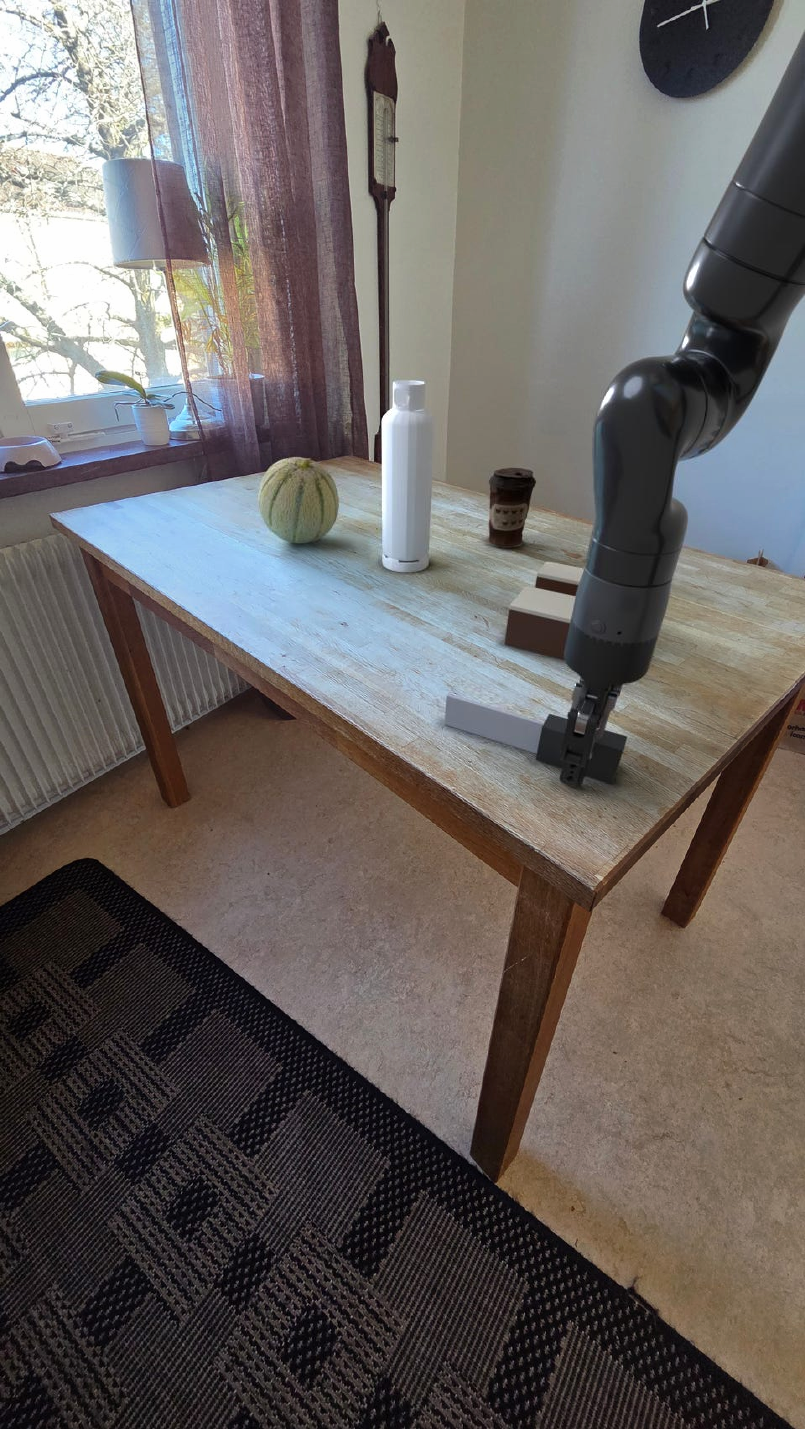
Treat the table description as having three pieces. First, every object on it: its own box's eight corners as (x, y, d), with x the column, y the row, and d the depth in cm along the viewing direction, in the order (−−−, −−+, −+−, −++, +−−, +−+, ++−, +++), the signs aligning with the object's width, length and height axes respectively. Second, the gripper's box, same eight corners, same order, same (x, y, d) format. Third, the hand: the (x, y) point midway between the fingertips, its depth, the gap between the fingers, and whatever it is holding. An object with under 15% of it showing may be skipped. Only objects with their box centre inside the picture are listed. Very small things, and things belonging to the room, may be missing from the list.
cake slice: (617, 614, 91) (627, 577, 87) (610, 628, 87) (620, 589, 84) (540, 597, 95) (546, 561, 92) (531, 609, 92) (537, 572, 88)
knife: (617, 770, 62) (627, 736, 60) (612, 785, 61) (622, 750, 58) (449, 717, 69) (452, 684, 67) (440, 729, 67) (442, 696, 65)
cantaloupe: (277, 524, 120) (268, 444, 111) (348, 529, 119) (345, 448, 110) (250, 552, 108) (238, 464, 100) (329, 558, 107) (324, 469, 98)
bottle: (437, 561, 106) (446, 382, 90) (410, 576, 101) (415, 388, 84) (400, 551, 110) (403, 377, 93) (373, 564, 105) (370, 382, 88)
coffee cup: (530, 552, 111) (541, 479, 103) (485, 551, 111) (492, 478, 103) (523, 535, 118) (533, 465, 110) (481, 534, 118) (487, 464, 110)
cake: (603, 643, 84) (612, 604, 80) (591, 667, 79) (600, 626, 75) (520, 623, 88) (526, 585, 84) (504, 644, 83) (509, 605, 79)
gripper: (646, 668, 46) (600, 819, 56) (672, 596, 56) (629, 735, 66) (550, 644, 49) (522, 792, 59) (592, 580, 59) (562, 716, 69)
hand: (579, 762), depth 63 cm, fingers open, 6 cm apart
